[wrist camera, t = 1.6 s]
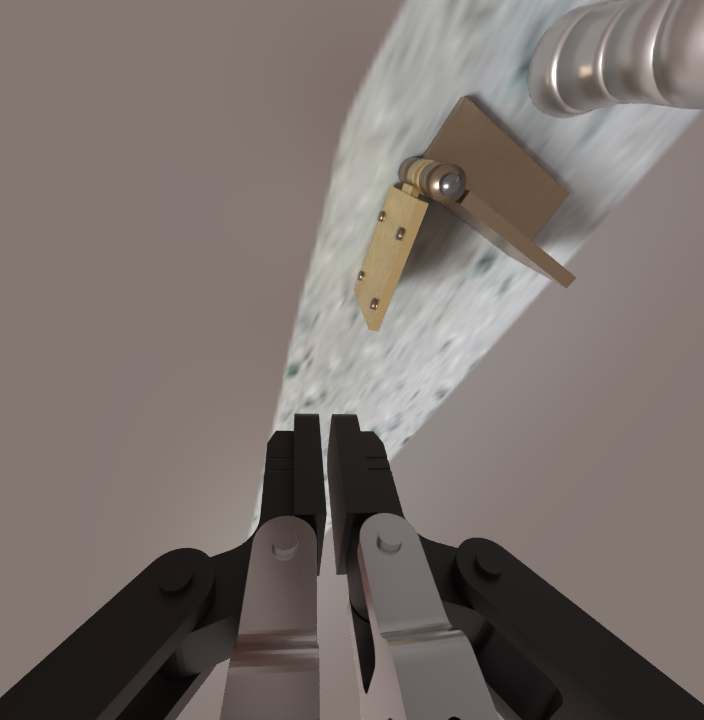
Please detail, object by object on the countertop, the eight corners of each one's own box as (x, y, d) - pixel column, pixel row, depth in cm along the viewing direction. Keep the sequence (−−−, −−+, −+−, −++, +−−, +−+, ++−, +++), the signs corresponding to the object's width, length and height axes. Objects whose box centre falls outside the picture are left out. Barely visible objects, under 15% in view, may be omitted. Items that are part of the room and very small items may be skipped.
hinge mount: (449, 87, 30) (511, 67, 22) (561, 192, 36) (648, 210, 27) (392, 177, 33) (427, 191, 24) (504, 262, 38) (566, 299, 30)
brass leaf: (399, 150, 32) (431, 154, 24) (431, 163, 33) (472, 171, 25) (351, 289, 37) (365, 328, 30) (380, 297, 38) (401, 337, 30)
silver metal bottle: (610, 26, 30) (1037, -127, 13) (572, 126, 33) (871, 115, 16) (535, 6, 29) (894, -192, 11) (504, 112, 32) (747, 83, 15)
